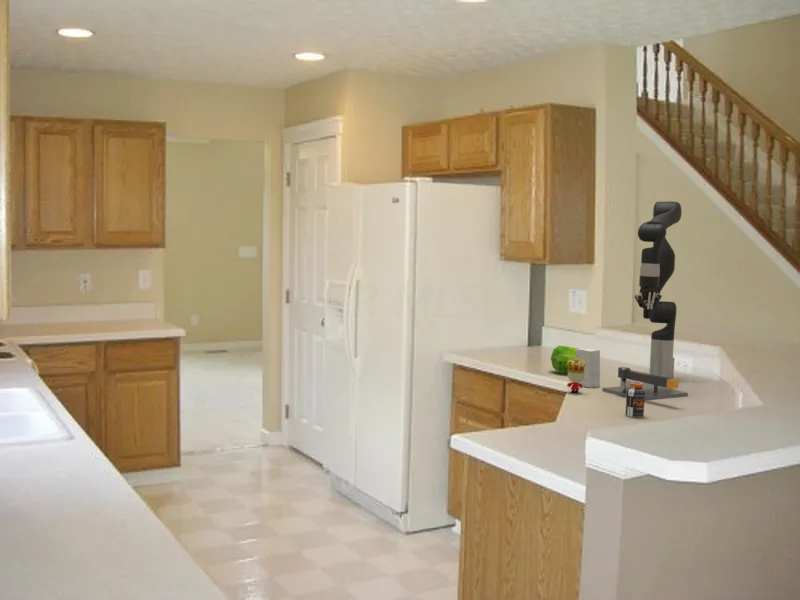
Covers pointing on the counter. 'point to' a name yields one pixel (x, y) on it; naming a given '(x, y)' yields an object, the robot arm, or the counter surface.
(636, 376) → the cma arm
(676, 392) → the tray
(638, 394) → the pill bottle
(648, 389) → the block
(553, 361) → the lettuce
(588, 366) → the skincare box
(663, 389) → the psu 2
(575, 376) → the toy
